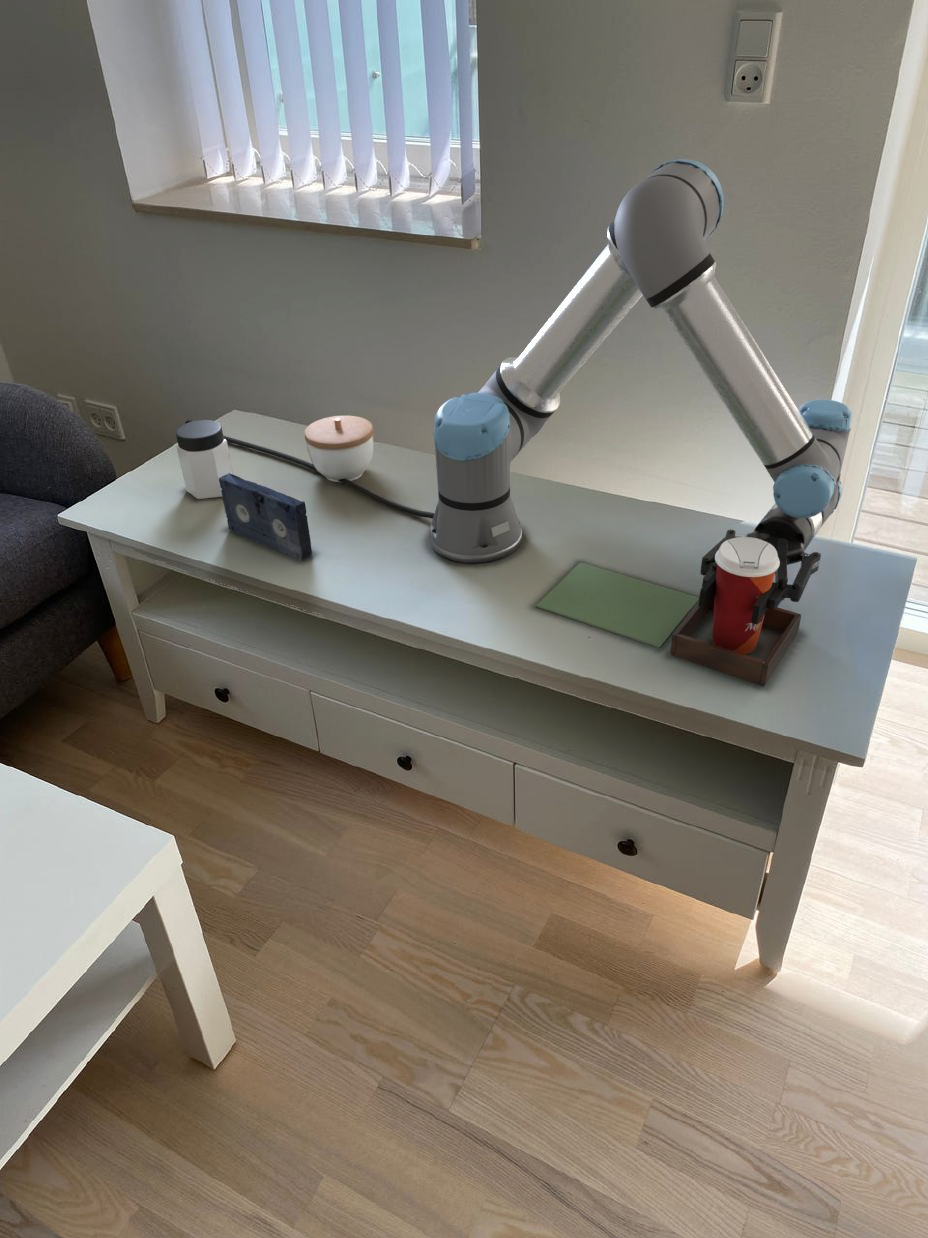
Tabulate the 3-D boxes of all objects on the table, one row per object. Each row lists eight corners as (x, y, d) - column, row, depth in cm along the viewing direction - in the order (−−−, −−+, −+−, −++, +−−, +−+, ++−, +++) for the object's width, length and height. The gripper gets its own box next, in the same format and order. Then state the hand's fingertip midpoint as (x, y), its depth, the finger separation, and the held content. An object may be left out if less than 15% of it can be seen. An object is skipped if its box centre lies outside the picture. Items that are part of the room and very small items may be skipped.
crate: (669, 654, 135) (671, 634, 133) (707, 607, 144) (710, 587, 141) (764, 686, 128) (768, 665, 126) (797, 634, 137) (801, 614, 135)
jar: (236, 476, 185) (224, 417, 178) (234, 496, 178) (222, 435, 171) (188, 481, 184) (174, 422, 177) (185, 501, 177) (171, 440, 170)
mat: (535, 607, 145) (535, 605, 145) (580, 563, 155) (580, 562, 155) (659, 648, 136) (660, 646, 136) (699, 599, 145) (699, 597, 145)
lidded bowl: (318, 458, 190) (311, 405, 183) (382, 459, 188) (377, 405, 182) (303, 489, 180) (295, 433, 173) (370, 489, 178) (364, 433, 172)
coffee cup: (766, 663, 132) (783, 569, 123) (703, 657, 133) (716, 564, 124) (763, 627, 138) (779, 536, 130) (704, 622, 140) (715, 531, 131)
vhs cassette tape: (313, 554, 160) (305, 501, 155) (300, 562, 158) (291, 508, 153) (241, 522, 170) (231, 471, 164) (228, 529, 168) (217, 478, 163)
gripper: (850, 569, 140) (797, 653, 125) (720, 534, 149) (657, 608, 134) (860, 524, 136) (807, 604, 120) (726, 491, 145) (661, 562, 130)
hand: (728, 606), depth 127 cm, fingers closed on coffee cup, 6 cm apart
